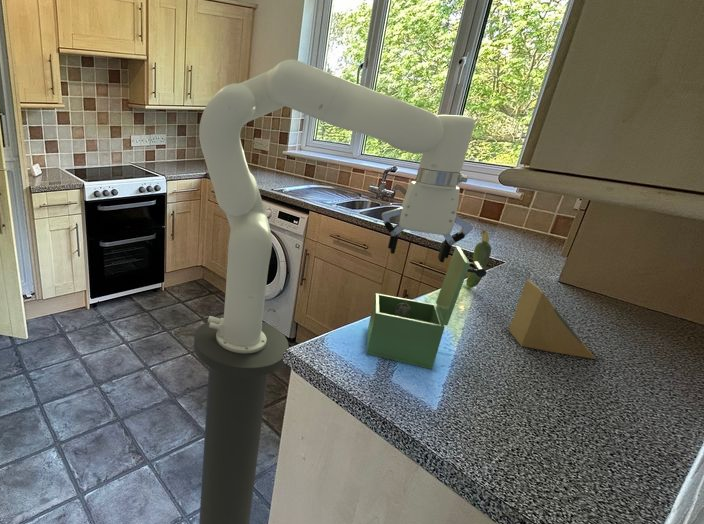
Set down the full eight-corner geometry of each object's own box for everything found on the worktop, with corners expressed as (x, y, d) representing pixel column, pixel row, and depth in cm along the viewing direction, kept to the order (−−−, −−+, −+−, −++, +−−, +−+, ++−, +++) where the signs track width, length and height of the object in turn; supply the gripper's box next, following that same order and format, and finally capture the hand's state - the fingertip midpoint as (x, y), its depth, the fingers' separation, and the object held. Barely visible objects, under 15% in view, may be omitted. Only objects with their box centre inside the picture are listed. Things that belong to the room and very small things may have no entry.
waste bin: (366, 353, 95) (375, 313, 91) (367, 330, 105) (375, 293, 101) (432, 369, 90) (444, 327, 86) (426, 343, 100) (437, 304, 96)
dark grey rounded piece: (411, 353, 94) (423, 307, 90) (384, 350, 95) (395, 304, 91) (403, 339, 100) (414, 296, 96) (378, 336, 101) (388, 293, 97)
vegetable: (480, 289, 133) (498, 231, 125) (477, 293, 130) (496, 233, 123) (464, 285, 135) (481, 227, 128) (461, 289, 132) (479, 230, 125)
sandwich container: (597, 360, 96) (623, 303, 91) (521, 346, 101) (542, 292, 95) (578, 341, 104) (601, 288, 99) (508, 329, 108) (526, 278, 103)
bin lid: (465, 262, 81) (494, 268, 79) (455, 245, 91) (481, 250, 89) (443, 324, 86) (469, 331, 85) (435, 302, 96) (459, 308, 95)
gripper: (481, 181, 84) (457, 258, 90) (390, 171, 90) (373, 244, 96) (490, 186, 77) (464, 269, 83) (391, 175, 83) (373, 253, 89)
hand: (415, 256), depth 90 cm, fingers open, 9 cm apart
